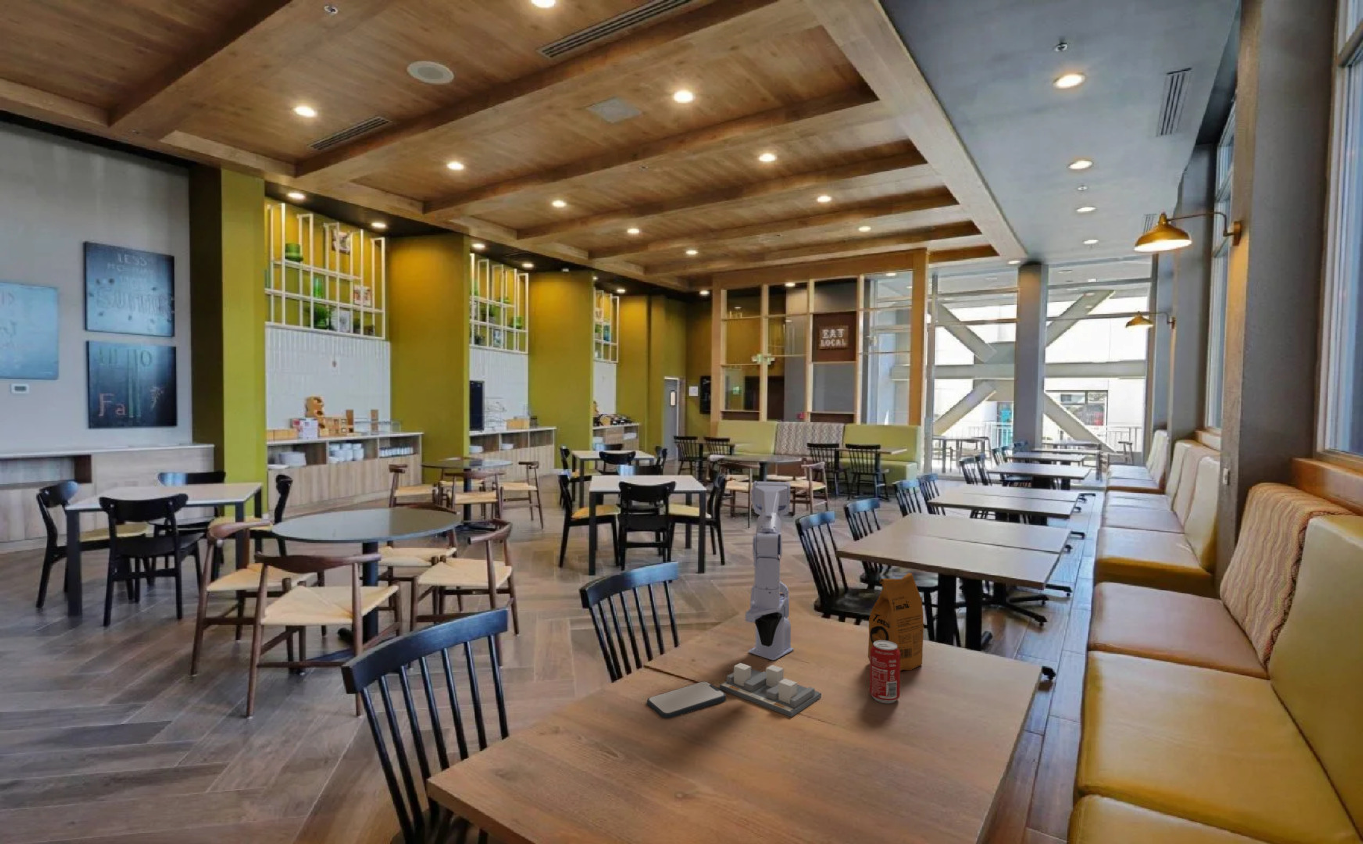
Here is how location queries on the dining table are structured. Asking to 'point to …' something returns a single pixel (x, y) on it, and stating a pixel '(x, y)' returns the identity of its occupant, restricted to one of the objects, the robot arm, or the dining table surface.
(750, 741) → the dining table surface
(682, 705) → the smartphone
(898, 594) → the coffee package
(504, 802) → the dining table surface
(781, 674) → the white rectangular block
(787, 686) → the tab
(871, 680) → the beverage can
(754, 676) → the switch board
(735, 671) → the tab
